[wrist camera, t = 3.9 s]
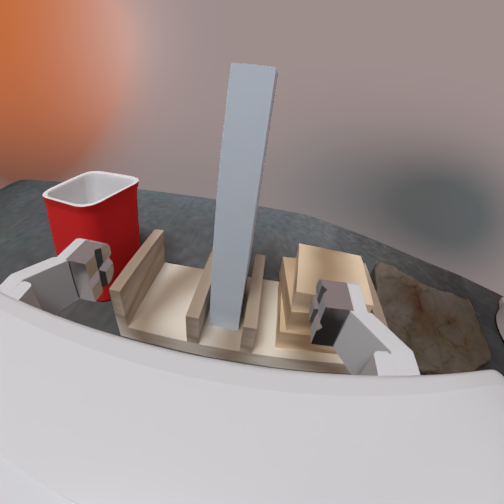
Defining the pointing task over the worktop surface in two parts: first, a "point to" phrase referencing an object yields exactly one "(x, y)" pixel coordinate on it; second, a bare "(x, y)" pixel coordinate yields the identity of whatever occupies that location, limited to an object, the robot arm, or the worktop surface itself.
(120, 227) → the mug
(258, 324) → the offcut rack
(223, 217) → the tall board
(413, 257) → the worktop surface
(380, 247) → the worktop surface
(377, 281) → the brown flat slab
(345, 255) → the offcut stack
